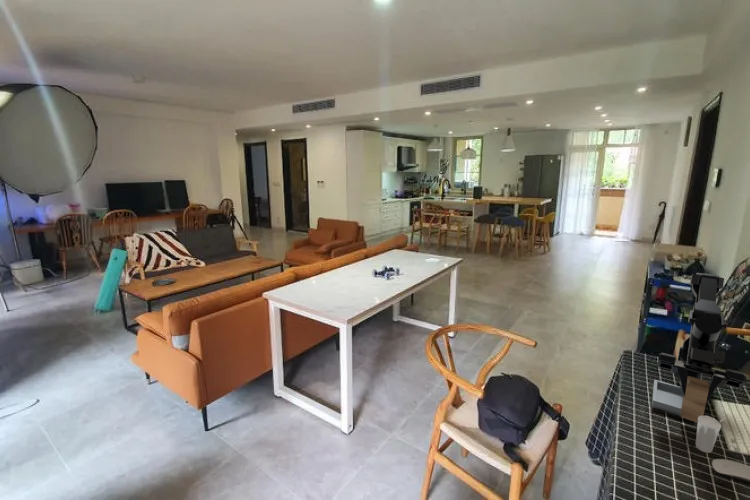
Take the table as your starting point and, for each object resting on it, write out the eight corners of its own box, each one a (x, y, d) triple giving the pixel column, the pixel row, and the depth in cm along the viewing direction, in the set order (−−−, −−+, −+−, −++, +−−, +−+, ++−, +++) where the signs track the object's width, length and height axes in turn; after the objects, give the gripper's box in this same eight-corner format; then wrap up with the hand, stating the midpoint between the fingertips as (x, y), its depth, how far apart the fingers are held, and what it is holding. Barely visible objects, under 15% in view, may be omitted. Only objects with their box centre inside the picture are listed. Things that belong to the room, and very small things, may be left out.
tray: (653, 386, 124) (654, 379, 123) (690, 396, 118) (691, 389, 118) (651, 407, 113) (653, 400, 113) (692, 419, 108) (693, 412, 107)
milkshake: (723, 456, 94) (731, 423, 92) (699, 453, 95) (706, 420, 93) (711, 443, 98) (718, 411, 96) (688, 441, 99) (695, 409, 97)
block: (681, 409, 108) (687, 375, 105) (701, 415, 105) (708, 381, 102) (680, 416, 104) (687, 382, 102) (701, 423, 102) (709, 388, 99)
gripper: (663, 327, 108) (655, 377, 103) (753, 346, 96) (748, 403, 91) (661, 342, 116) (653, 389, 110) (743, 361, 104) (739, 414, 98)
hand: (695, 398), depth 102 cm, fingers closed on block, 4 cm apart
